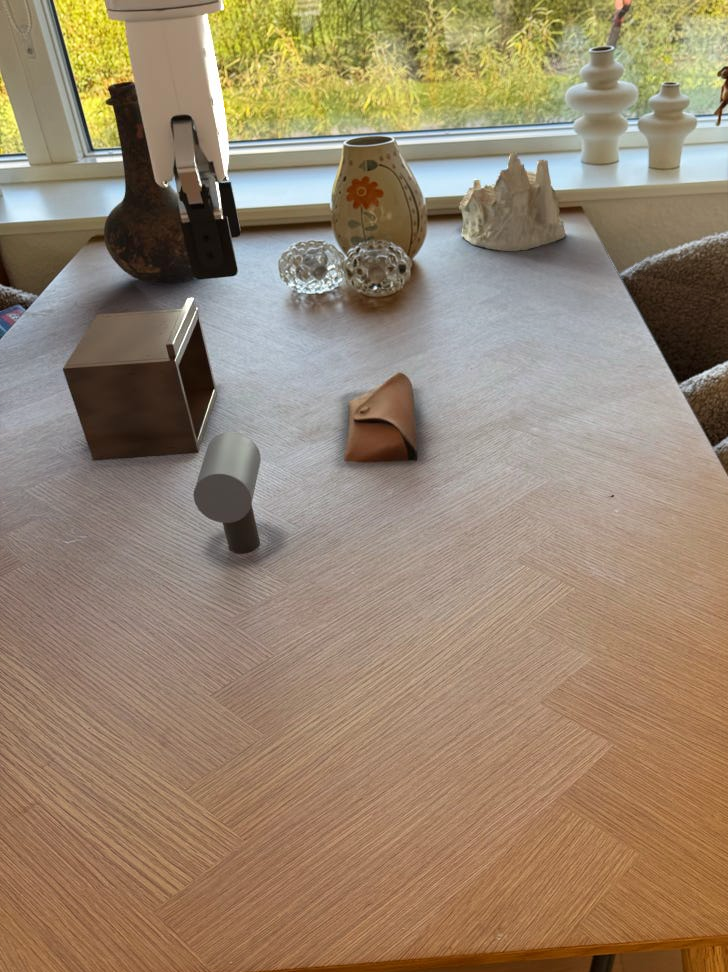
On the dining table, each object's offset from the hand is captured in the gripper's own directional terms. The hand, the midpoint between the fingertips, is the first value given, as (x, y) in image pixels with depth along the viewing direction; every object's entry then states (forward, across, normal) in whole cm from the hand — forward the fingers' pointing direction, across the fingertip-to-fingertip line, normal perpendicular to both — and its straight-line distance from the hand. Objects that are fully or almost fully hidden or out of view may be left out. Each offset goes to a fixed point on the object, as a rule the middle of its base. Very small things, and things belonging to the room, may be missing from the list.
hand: (219, 256), depth 73 cm
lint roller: (+28, -2, -4) cm, 29 cm away
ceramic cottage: (+29, -94, +41) cm, 106 cm away
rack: (+28, -34, -15) cm, 46 cm away
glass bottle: (+28, -90, -17) cm, 96 cm away
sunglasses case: (+29, -24, +12) cm, 39 cm away
